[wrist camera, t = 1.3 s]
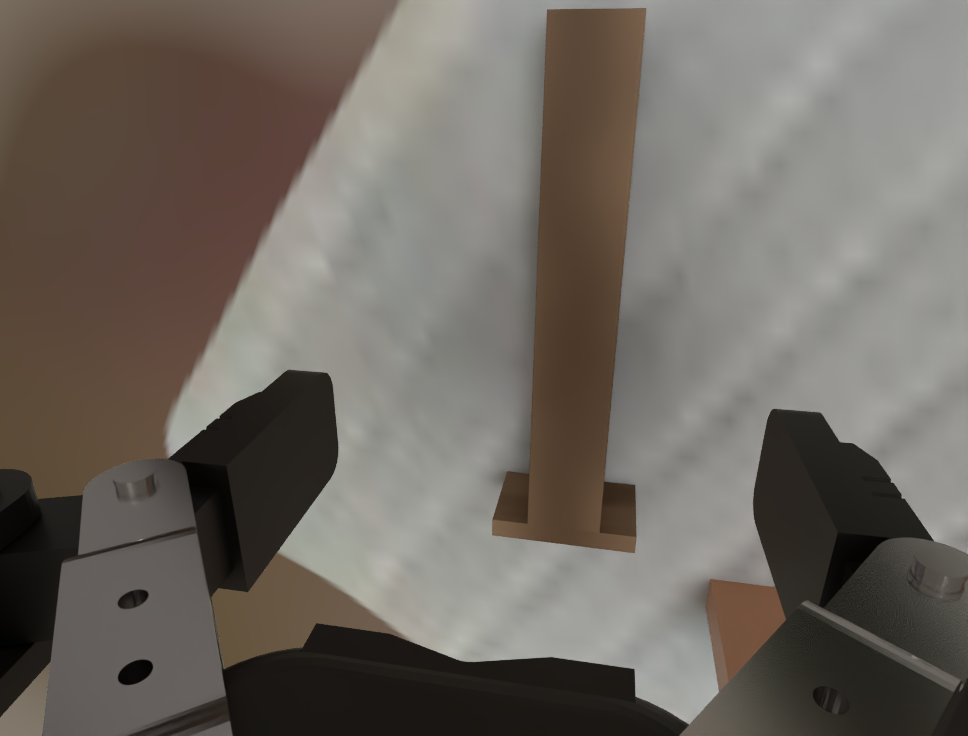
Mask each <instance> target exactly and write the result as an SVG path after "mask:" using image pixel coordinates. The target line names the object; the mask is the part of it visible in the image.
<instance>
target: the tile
mask: <svg viewBox="0 0 968 736" xmlns="http://www.w3.org/2000/svg"><path fill="white" fill-rule="evenodd" d="M706 612H707V618H708V624H709V631H710V637H711V643H712V649H713V656H714V662H715V668H716V674H717V681H718V687H719V692H720V691H721V690H722V689H723V688H724V687H725V685H726V684H727V683H728V682H729V681H730V680H731V679H732V678H733V677H734V676H735V675H736V674H737V672H738V671H739V670H740V669H741V668H742V667H743V666H744V665H745V664H746V663H747V662H748V660H749V659H750V658H751V657H752V656H753V655H754V654H755V653H756V652H757V651H758V650H759V649H760V647H761V646H762V645H763V644H764V643H765V642H766V641H767V640H768V639H769V638H770V637H771V635H772V634H773V633H774V632H775V631H776V630H777V629H778V628H779V627H780V626H781V625H782V624H783V622H784V621H785V620H786V618H785V615H784V612H783V609H782V606H781V603H780V599H779V596H778V593H777V590H776V588H775V587H768V586H760V585H752V584H744V583H736V582H728V581H721V580H713V579H710V585H709V591H708V596H707V602H706Z"/></svg>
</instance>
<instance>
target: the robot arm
mask: <svg viewBox="0 0 968 736" xmlns="http://www.w3.org/2000/svg"><path fill="white" fill-rule="evenodd" d="M337 459H338V437H337V427H336V416H335V405H334V394H333V385H332V381H331V378H330V376H329V375H328V374H327V373H323V372H310V371H297V370H287V371H286V372H284V373H283V374H282V375H281V376H280V377H278V378H277V379H276V380H275V381H274V382H273V383H272V384H270V385H269V386H268V387H267V388H266V389H265V390H263V391H262V392H258V393H256V394H254V395H252V396H249V397H247V398H245V399H243V400H240V401H238V402H236V403H235V404H233V405H232V406H231V407H230V408H229V409H227V410H226V411H225V412H224V413H223V414H221V415H220V418H219V419H215V420H214V421H213V422H212V423H211V424H209V425H208V426H207V428H206V430H202V431H201V432H200V433H199V434H197V435H196V436H195V437H194V438H193V439H191V440H190V441H189V442H188V443H187V444H185V445H184V446H183V447H182V448H181V449H179V450H178V451H177V452H176V453H175V454H173V455H172V456H171V457H170V458H169V459H160V458H159V459H158V458H155V459H143V460H137V461H132V462H128V463H125V464H121V465H118V466H116V467H114V468H111V469H109V470H107V471H105V472H103V473H101V474H100V475H98V476H97V477H95V478H94V479H93V480H91V482H89V484H88V485H87V486H86V488H85V489H84V492H83V495H81V496H69V497H56V498H45V499H37V496H36V492H35V489H34V486H33V482H32V479H31V476H29V475H28V474H27V473H26V472H24V471H20V470H14V469H0V717H1V716H2V715H3V713H4V712H5V711H6V710H7V709H8V708H9V706H11V704H13V702H14V701H15V700H16V699H17V698H18V697H19V696H20V695H21V694H22V692H23V691H24V690H25V689H26V688H27V687H28V686H29V685H30V684H31V683H32V681H33V680H34V679H35V678H36V677H37V676H38V675H39V674H40V673H41V671H42V670H43V669H44V668H45V667H46V666H47V665H48V664H49V663H50V662H51V663H50V672H49V680H48V690H47V698H46V707H45V716H44V726H43V733H42V736H968V554H966V553H964V552H962V551H960V550H958V549H956V548H953V547H950V546H947V545H945V544H941V543H938V542H934V540H933V539H932V537H931V536H930V535H929V533H928V532H927V530H926V529H925V527H924V526H923V525H922V523H921V522H920V520H919V519H918V517H917V516H916V515H915V513H914V512H913V510H912V509H911V507H910V506H909V505H908V503H907V502H906V500H905V499H902V498H901V496H902V495H901V493H900V492H899V490H898V489H897V487H896V486H895V485H894V483H891V479H890V477H889V476H888V475H887V473H886V472H885V470H884V469H883V467H882V466H881V465H880V463H879V462H878V460H876V459H875V458H873V457H872V456H870V455H869V454H868V453H866V452H865V451H863V450H862V449H860V448H859V447H857V446H856V445H855V444H853V443H842V442H839V440H838V439H837V437H836V436H835V434H834V432H833V431H832V429H831V428H830V426H829V425H828V423H827V421H826V420H825V418H824V417H823V415H822V414H821V413H819V412H807V411H794V410H781V409H773V410H772V411H771V412H770V414H769V417H768V420H767V425H766V430H765V435H764V440H763V445H762V451H761V456H760V461H759V467H758V472H757V477H756V482H755V488H754V498H753V510H754V520H755V524H756V527H757V530H758V534H759V537H760V540H761V543H762V546H763V549H764V552H765V556H766V559H767V562H768V565H769V568H770V571H771V574H772V577H773V581H774V584H775V587H776V590H777V593H778V596H779V599H780V603H781V606H782V609H783V612H784V615H785V618H786V620H785V621H784V622H783V624H782V625H781V626H780V627H779V628H778V629H777V630H776V631H775V632H774V633H773V634H772V635H771V637H770V638H769V639H768V640H767V641H766V642H765V643H764V644H763V645H762V646H761V647H760V649H759V650H758V651H757V652H756V653H755V654H754V655H753V656H752V657H751V658H750V659H749V660H748V662H747V663H746V664H745V665H744V666H743V667H742V668H741V669H740V670H739V671H738V672H737V674H736V675H735V676H734V677H733V678H732V679H731V680H730V681H729V682H728V683H727V684H726V685H725V687H724V688H723V689H722V690H721V691H720V692H719V693H718V694H717V695H716V696H715V697H714V699H713V700H712V701H711V702H710V703H709V704H708V705H707V706H706V707H705V708H704V709H703V710H702V712H701V713H700V714H699V715H698V716H697V717H696V718H695V719H694V720H693V721H692V722H691V724H690V725H689V724H687V723H686V722H684V721H682V720H681V719H679V718H678V717H676V716H674V715H673V714H671V713H669V712H668V711H666V710H664V709H662V708H660V707H658V706H656V705H654V704H652V703H650V702H647V701H645V700H642V699H640V698H637V697H635V671H634V669H629V668H623V667H616V666H609V665H602V664H595V663H588V662H581V661H574V660H567V659H560V658H553V657H548V658H532V659H516V660H500V661H483V662H464V661H460V660H456V659H454V658H451V657H448V656H446V655H443V654H441V653H438V652H435V651H433V650H430V649H428V648H425V647H422V646H420V645H417V644H415V643H412V642H409V641H407V640H404V639H401V638H399V637H396V636H394V635H391V634H387V633H380V632H372V631H366V630H359V629H352V628H345V627H338V626H331V625H324V624H316V625H315V627H314V629H313V630H312V632H311V634H310V636H309V638H308V639H307V641H306V643H305V645H304V646H303V648H293V649H286V650H281V651H275V652H271V653H268V654H264V655H260V656H256V657H253V658H250V659H248V660H245V661H242V662H239V663H237V664H235V665H232V666H230V667H228V668H226V669H225V668H224V662H223V657H222V652H221V647H220V641H219V636H218V630H217V625H216V620H215V614H214V609H213V604H212V599H211V597H212V595H213V594H214V593H215V591H216V590H217V589H218V588H222V589H230V590H237V591H245V592H248V591H249V590H250V588H251V587H252V586H253V584H254V583H255V582H256V580H257V579H258V578H259V576H260V575H261V573H262V572H263V571H264V569H265V568H266V566H267V565H268V564H269V562H270V561H271V560H272V558H273V557H274V555H275V554H276V553H277V551H278V550H279V549H280V547H281V546H282V545H283V543H284V542H285V540H286V539H287V538H288V536H289V535H290V534H291V532H292V531H293V529H294V528H295V527H296V525H297V524H298V523H299V521H300V520H301V518H302V517H303V516H304V514H305V513H306V512H307V510H308V509H309V507H310V506H311V505H312V503H313V502H314V501H315V499H316V498H317V497H318V495H319V494H320V492H321V491H322V490H323V488H324V487H325V486H326V484H327V483H328V481H329V480H330V479H331V477H332V475H333V473H334V471H335V468H336V464H337Z"/></svg>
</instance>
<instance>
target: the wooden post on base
mask: <svg viewBox="0 0 968 736" xmlns="http://www.w3.org/2000/svg"><path fill="white" fill-rule="evenodd" d="M645 18H646V8H632V9H556V10H547V28H546V54H545V80H544V106H543V132H542V158H541V185H540V211H539V237H538V263H537V289H536V315H535V341H534V368H533V394H532V420H531V446H530V472H529V474H526V473H516V472H507V474H506V477H505V481H504V484H503V487H502V490H501V494H500V497H499V500H498V504H497V507H496V510H495V513H494V517H493V524H492V535H495V536H503V537H511V538H519V539H527V540H535V541H543V542H551V543H559V544H567V545H575V546H583V547H591V548H598V549H606V550H614V551H622V552H630V553H635V545H636V500H635V485H629V484H619V483H610V482H604V476H605V465H606V454H607V443H608V431H609V420H610V409H611V398H612V387H613V375H614V364H615V353H616V342H617V331H618V320H619V308H620V297H621V286H622V275H623V264H624V252H625V241H626V230H627V219H628V208H629V197H630V185H631V174H632V163H633V152H634V141H635V129H636V118H637V107H638V96H639V85H640V74H641V62H642V51H643V40H644V29H645Z"/></svg>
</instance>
